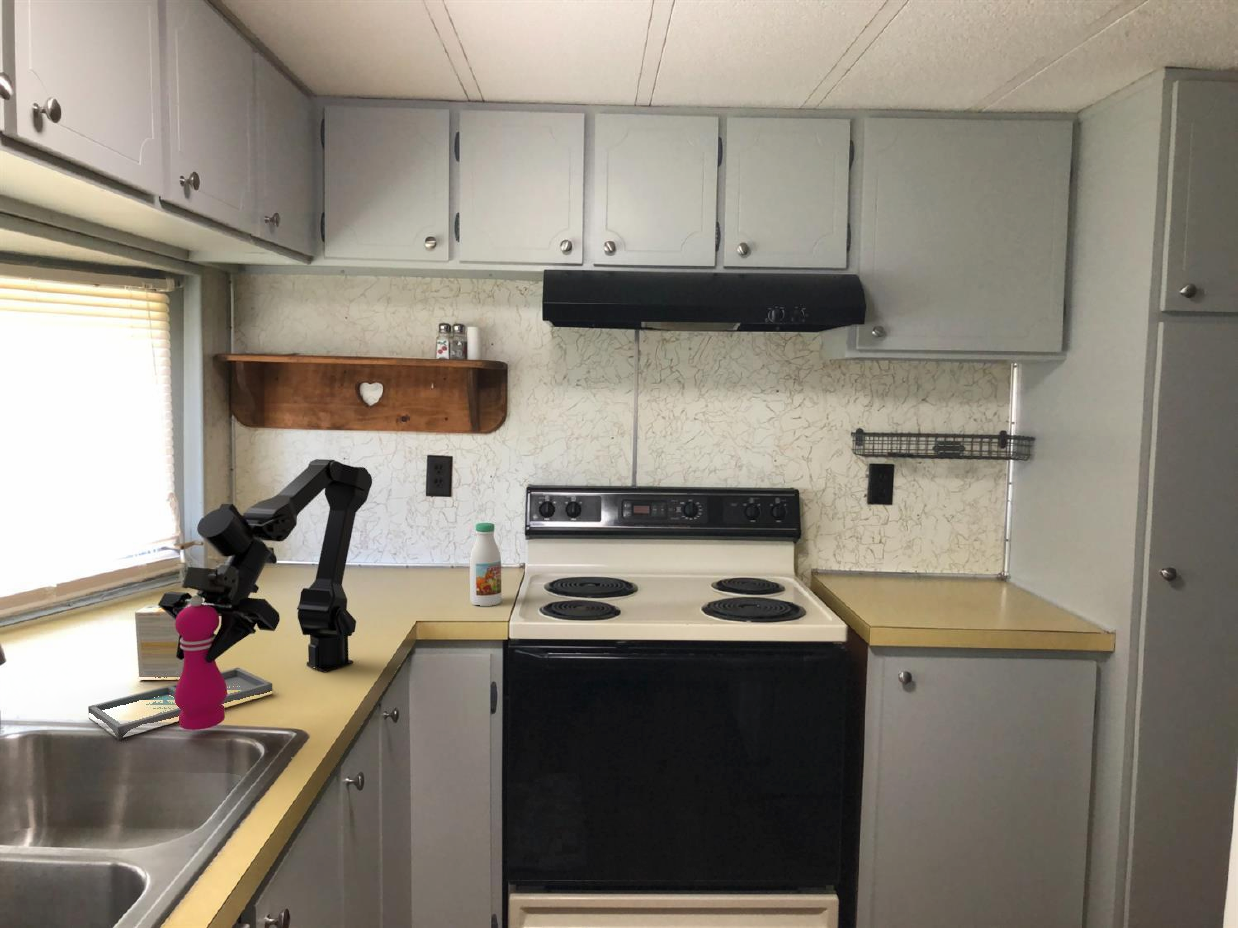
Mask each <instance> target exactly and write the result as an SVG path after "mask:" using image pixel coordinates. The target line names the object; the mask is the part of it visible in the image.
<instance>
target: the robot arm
mask: <svg viewBox="0 0 1238 928" xmlns="http://www.w3.org/2000/svg"><path fill="white" fill-rule="evenodd" d="M372 478H373V477H372V474H370V473H369V471H368V469H367V468H366V467H364V466H352V465H349V464H345V463H342V462H340V461H337V460H335V459H322V458H321V459H319V458H318V459H317V458H315V459H314V460H311V461H309V463H308V465H307V467H306V468H305V469H304V470H303V471H302V472H300V474H298V475H297V476H296V477H295V478H294V479H293V480H292V481H291V482H289V484H287V485H286V486H284V488H283V489H282V490H280V492H279V493H277V494H276V495H274V496H272V497H270V498H267V499H264V500H260V501H258V502H256V503H254V504H253V505H251V506H250V507H248V508H246V510H245V511H244V512H243V513H242V514H241V512H239V511H238V508H237V507H236V506H235V504H233V503H226V502H225V503H224V502H223V503H221V504H220V506H219V508H217V509H213V510H212V511H210V512H208V513H207V514H206V515H205V516H204V517H202V518H200V519H199V521H198V523H197V527H196V530H197V534H198V535H199V536H200V537H201V538H202V539H203V540H204V541H205V542H206V543H207V544H208V545H209V546H210V547H211V548H212V549H213V550H214V551H215V552H216V554H218V555H220V556H221V557H224V558H226V557H227V558H226V559H225V562H224V563H223V564H220V565H219V566H218V567H214V568H209V567H207V568H206V567H194V566H187V568H186V570H185V571H186V572H185V574H184V579H183V582H182V586H181V587H182V588H183V589H193V590H195V591H197V592H196V595H198V596H201V597H202V599H203V603H202V605H208V606H211V607H212V608H214V609H215V610H216V611H217V613H218V616H219V617H220V627H218V630H217V632H216V633H215V634H216V636H215V638H214V640H213V642H212V644H211V646H210V648H209V650H208V653H207V656H206V658H205V661H207V662H208V663H211V662H213V661H214V660H215V661H216V659H218V658H219V657H221V655H223V654H224V653H226V652H227V651H228V650H230V648H232V647H233V646H235V645H236V644H237V643H239V642H241V641H242V640H244V639H245V638H247V637H248V636H250V635H254V634H256V632H257V629H256V628H255V627H256V626H257V628H258V629H259V630H260V631H267V632H268V631H270V632H275V631H276V629H277V627H278V625H279V623H280V618H281V616H280V613H279V611H277V609H275V608H274V607H273V606H272V605H271V604H270V603H269V601H268V600H266V599H265V598H256V597H250V595H251V593H252V594H257V593H258V592H259V589H260V587H259V586H258V585H257V584H256V583H257V582H258V580H259V577H260V576H261V574H262V572H263V571H264V568H265V566H266V564H273V565H275V564H277V562H278V560H277V559H278V558H277V556H276V553H275V550H274V549H275V548H274V547H271V546H268V545H267V544H266V543H265V542H277V543H278V542H280V543H281V542H283V541H285V540H286V539H287V538H288V537H289V536H290V534H291V533H292V532H293V530H294V529H295V528H296V526H297V523H298V522H297V521H298V516H299V514H300V513H301V512H302V511H303V510H304V509H305V508H306V507H308V505H310V503H311V502H312V501H313V500H314V499H315V498H316V497H317V496H318V495H319V494H321V492H323V490H324V496H325V498H326V499H325V500H326V501H327V504H328V507H329V510H328V515H327V521H326V526H325V531H324V535H323V541H322V545H321V549H320V550H321V551H320V556H319V560H318V565H317V570H316V575H315V580H314V582H312V584H311V585H310V586H309V587H304V588H302V589H301V592H300V598H299V602H298V605H297V608H296V610H297V620H298V622H299V623H298V624H299V626H300V630H301V633H302V635H303V636H309V644H308V645H307V647H308V648H307V649H308V650H307V651H308V652H307V653H308V655H307V657H308V661H307V662H306V666H308V665H309V667H310V666H311V668H313V667H315V668H317V669H319V670H318V671H320V670H321V671H320V672H322V671H326V672H329V671H332V670H331V669H333V670H336V669H339V668H338V667H340V668H342V667H346V666H350V665H353V664H354V660H351V659H350V658H349V637H352V636H353V633H355V631H356V627H357V619H355V618H354V617H353V615H352V614H351V613H350V612H349V610H347V608H348V597H347V594H346V592H345V590H344V588H343V581H344V576H345V571H346V564H347V561H348V555H349V549H350V545H351V540H352V534H353V528H354V526H355V525H354V524H355V520H356V515H357V512H359V510H360V508H362V507H363V505H364V504H365V503H366V502H367V500H368V499H369V498H368V497H369V493H370V490H371V488H372V485H373V479H372ZM192 597H193V595H192V594H190V593H189V592H183V591H172V590H171V591H167V592H165V593H163V595H162V596H161V599H159V602H158V604H157V605H158V606H160V607H161V608H162V609H163V610H164V611H166V612H167V613H168V614H169V615H170V616H172V617H173V618H174V619H175V620H176V618H177V615H178V614H179V612H181V611H182V610H183V609H185V608H186V607H189V606H192V605H191V604H190V599H191V598H192ZM181 638H182V636H181V635H180V634H179V641H178V648H177V654H176V657H177V658H178V659H179V660H182V659H183V658H184V651H183V649H181V648H180V645H181V643H180V639H181ZM315 668H314V669H315ZM335 668H336V669H335ZM317 669H316V670H317ZM328 670H329V671H328Z"/></svg>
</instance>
